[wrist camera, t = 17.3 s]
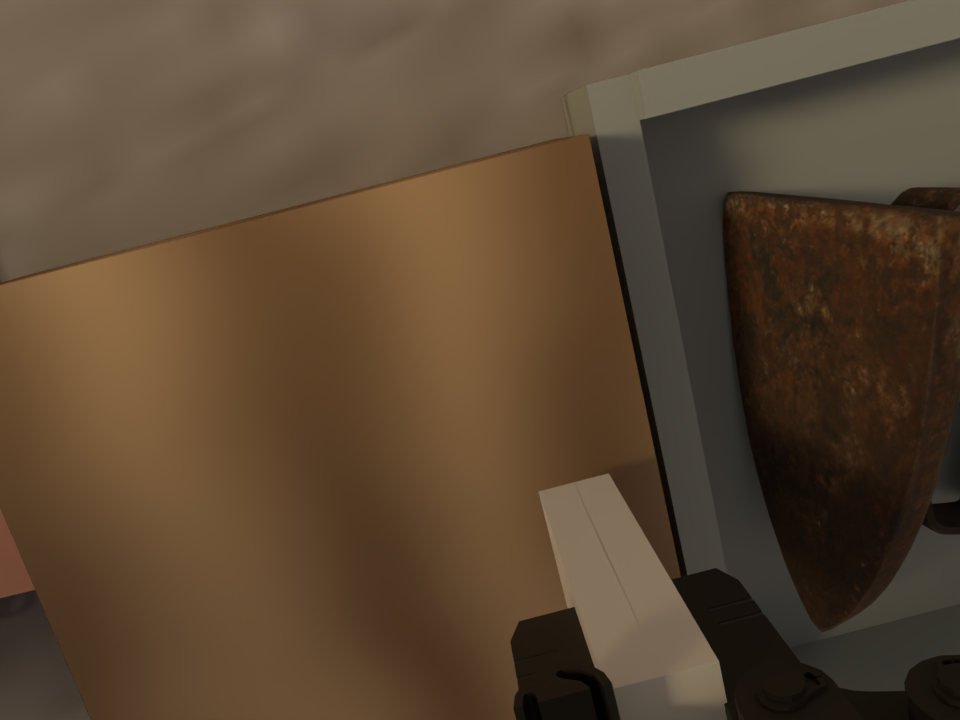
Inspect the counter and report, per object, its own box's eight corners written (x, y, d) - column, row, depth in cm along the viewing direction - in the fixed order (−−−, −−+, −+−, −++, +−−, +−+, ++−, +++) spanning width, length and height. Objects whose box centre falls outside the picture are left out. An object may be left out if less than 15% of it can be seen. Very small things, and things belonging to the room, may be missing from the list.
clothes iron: (704, 162, 21) (977, 195, 24) (640, 572, 23) (897, 544, 27) (952, 171, 14) (1268, 214, 18) (828, 734, 17) (1129, 667, 21)
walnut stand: (226, 776, 25) (178, 923, 20) (30, 274, 21) (-87, 307, 16) (666, 661, 25) (723, 780, 20) (551, 140, 21) (588, 133, 16)
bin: (687, 685, 25) (734, 779, 22) (561, 97, 21) (591, 82, 17) (1168, 560, 26) (1301, 631, 22) (1141, -53, 21) (1302, -101, 17)
